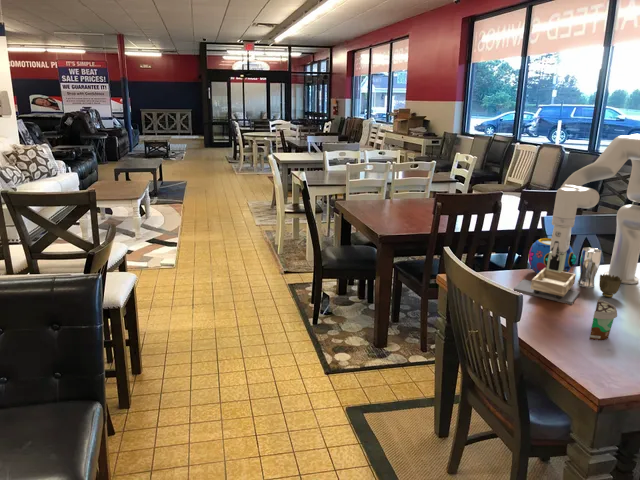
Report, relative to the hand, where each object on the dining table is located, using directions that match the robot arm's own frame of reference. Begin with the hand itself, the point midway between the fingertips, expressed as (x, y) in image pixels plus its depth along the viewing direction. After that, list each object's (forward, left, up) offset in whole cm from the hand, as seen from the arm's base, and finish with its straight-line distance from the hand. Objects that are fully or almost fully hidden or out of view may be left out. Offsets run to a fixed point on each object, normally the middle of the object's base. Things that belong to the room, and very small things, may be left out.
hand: (555, 267), depth 193 cm
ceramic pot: (-21, -6, -11) cm, 25 cm away
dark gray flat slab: (0, -2, -11) cm, 11 cm away
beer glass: (-19, +9, -11) cm, 24 cm away
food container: (+27, +22, -11) cm, 37 cm away
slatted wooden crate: (0, 0, -10) cm, 10 cm away
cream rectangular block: (0, 0, -1) cm, 1 cm away
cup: (-11, +18, -11) cm, 24 cm away
